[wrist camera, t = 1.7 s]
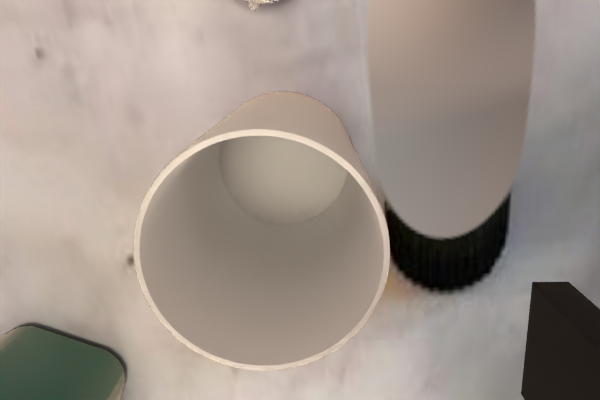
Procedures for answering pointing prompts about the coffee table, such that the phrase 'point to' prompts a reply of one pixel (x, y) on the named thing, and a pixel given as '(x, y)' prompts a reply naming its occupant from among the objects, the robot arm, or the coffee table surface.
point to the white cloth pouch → (254, 3)
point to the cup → (264, 238)
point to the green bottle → (56, 368)
